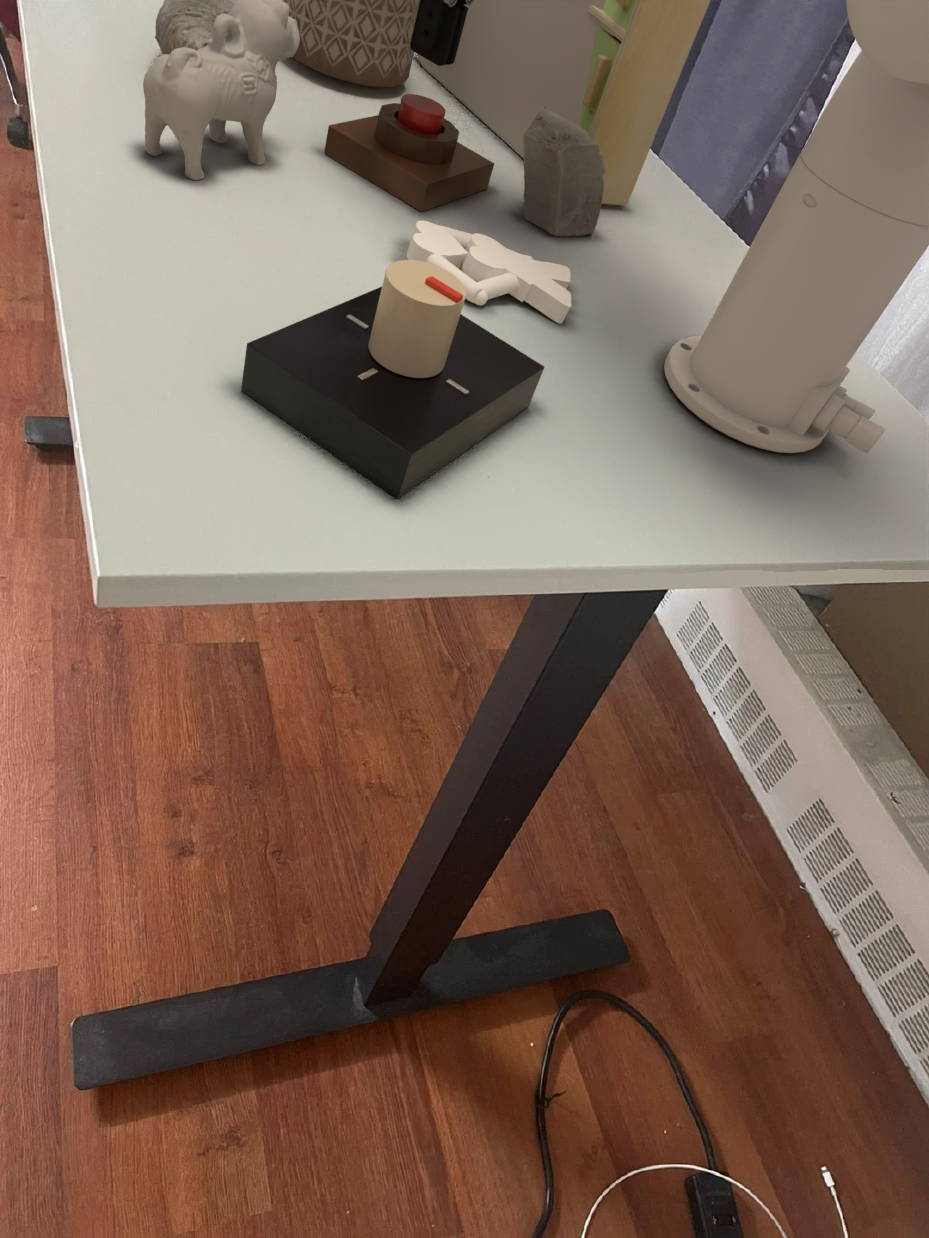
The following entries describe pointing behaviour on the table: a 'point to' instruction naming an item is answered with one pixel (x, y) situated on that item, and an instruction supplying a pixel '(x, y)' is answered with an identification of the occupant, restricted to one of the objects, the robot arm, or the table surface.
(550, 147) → the mineral specimen
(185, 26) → the seashell
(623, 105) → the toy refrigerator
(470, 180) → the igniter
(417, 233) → the white abstract figurine
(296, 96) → the table surface
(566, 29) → the grey rectangular panel
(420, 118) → the button
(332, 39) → the planter
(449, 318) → the knob
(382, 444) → the panel
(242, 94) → the dog figurine
